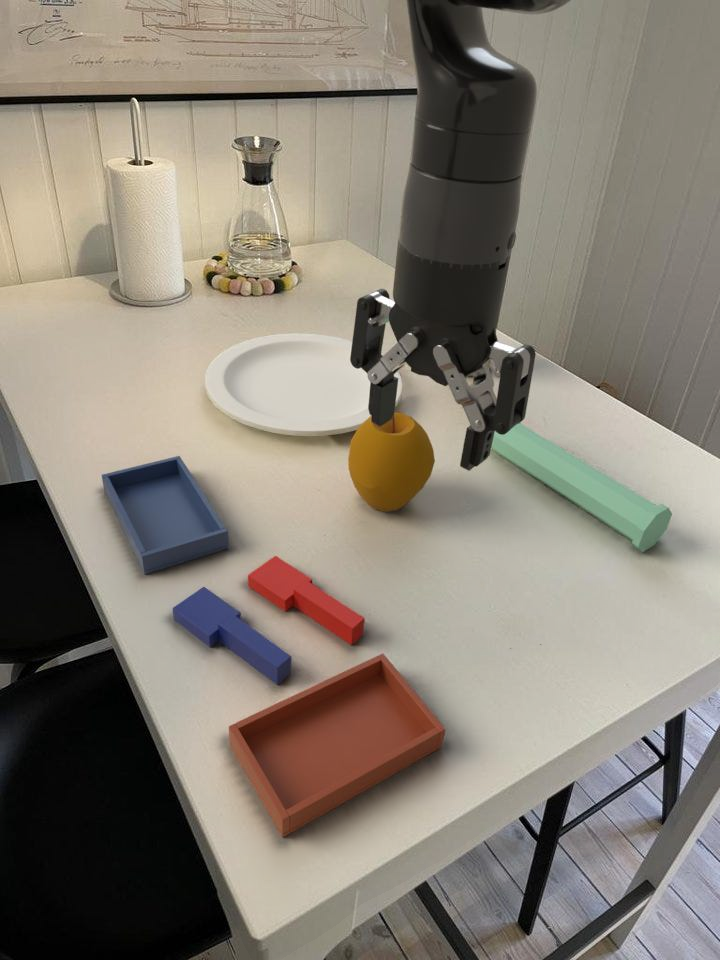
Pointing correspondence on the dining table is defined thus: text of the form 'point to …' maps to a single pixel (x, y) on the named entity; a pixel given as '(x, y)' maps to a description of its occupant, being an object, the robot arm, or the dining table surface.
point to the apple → (390, 461)
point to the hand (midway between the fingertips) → (425, 442)
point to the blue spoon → (231, 633)
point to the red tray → (333, 741)
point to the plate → (292, 385)
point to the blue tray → (164, 514)
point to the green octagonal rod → (584, 486)
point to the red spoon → (305, 598)
